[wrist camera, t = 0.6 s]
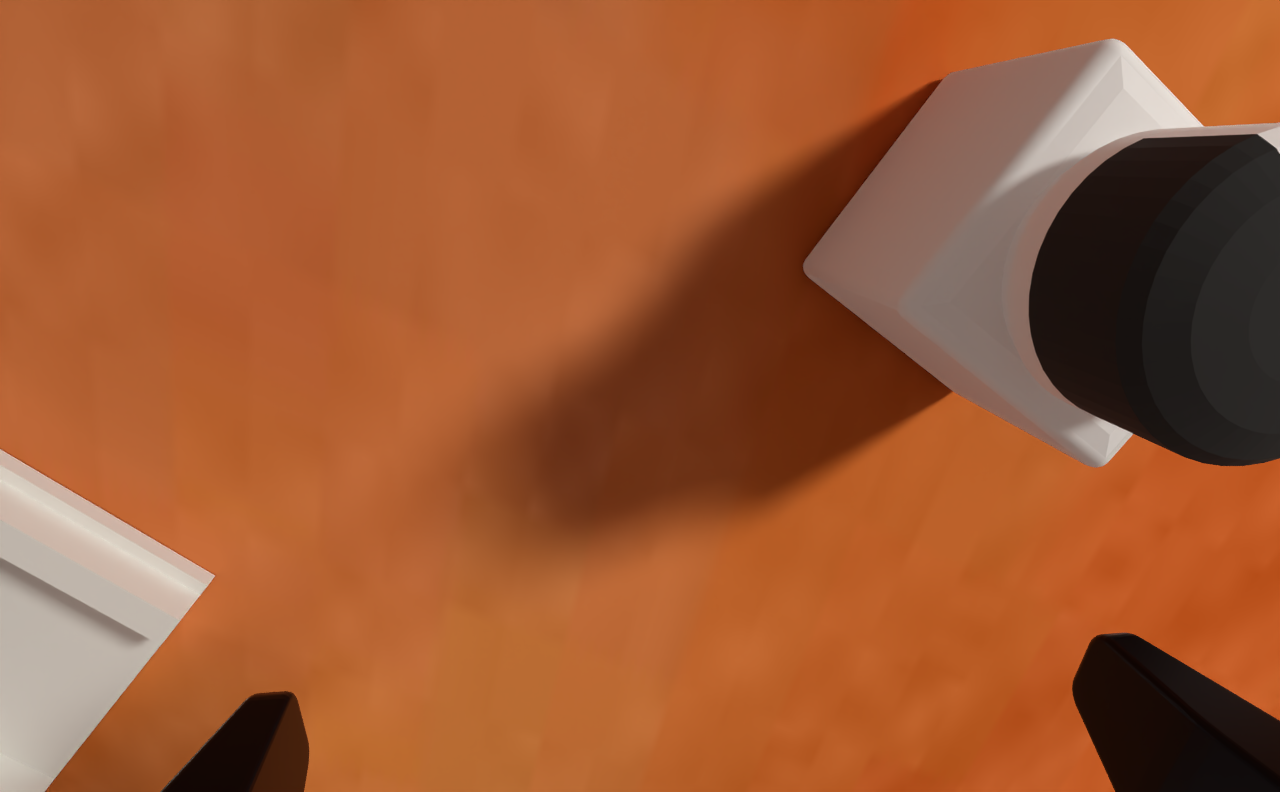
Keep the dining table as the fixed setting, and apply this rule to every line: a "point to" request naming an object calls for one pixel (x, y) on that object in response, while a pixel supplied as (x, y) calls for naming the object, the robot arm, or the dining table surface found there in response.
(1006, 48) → the dining table surface
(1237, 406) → the medicine bottle
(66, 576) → the off-white chute
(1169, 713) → the robot arm
